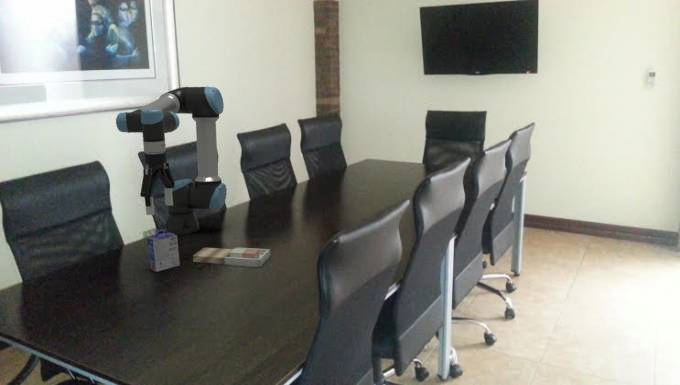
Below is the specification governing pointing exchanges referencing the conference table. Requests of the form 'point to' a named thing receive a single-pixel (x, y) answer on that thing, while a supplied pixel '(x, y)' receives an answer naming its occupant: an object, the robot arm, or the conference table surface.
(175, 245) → the ink cartridge box
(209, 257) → the board
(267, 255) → the tray
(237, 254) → the tile
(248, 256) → the tile
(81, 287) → the conference table surface
